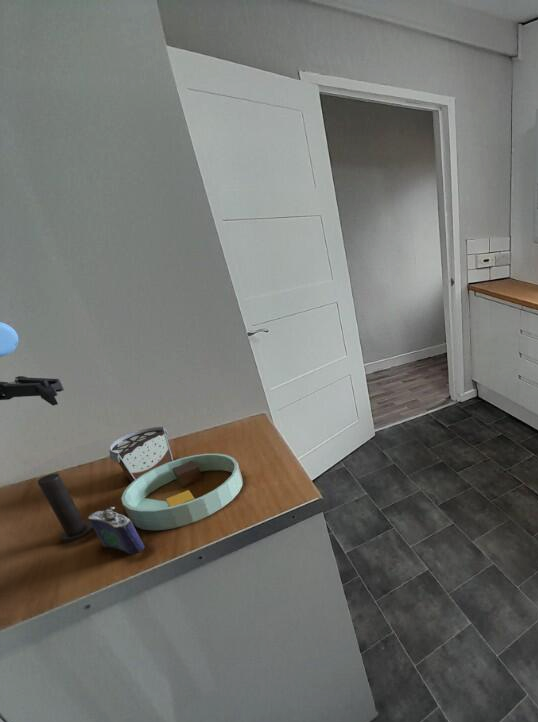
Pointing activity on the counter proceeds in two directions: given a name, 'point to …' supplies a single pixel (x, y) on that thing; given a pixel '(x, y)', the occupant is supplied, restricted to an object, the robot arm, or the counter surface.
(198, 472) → the walnut block
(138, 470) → the food container
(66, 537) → the dark cylinder with base
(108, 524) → the flask
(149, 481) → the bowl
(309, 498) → the counter surface
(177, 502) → the mustard block
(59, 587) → the counter surface
